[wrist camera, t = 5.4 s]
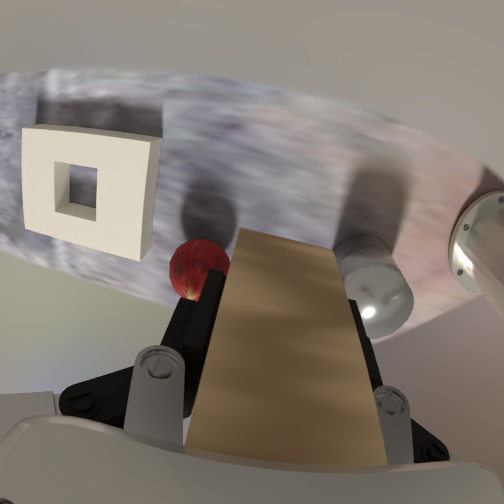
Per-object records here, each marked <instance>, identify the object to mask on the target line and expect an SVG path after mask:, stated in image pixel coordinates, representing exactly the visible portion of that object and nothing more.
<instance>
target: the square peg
mask: <svg viewBox="0 0 504 504" xmlns="http://www.w3.org/2000/svg"><path fill="white" fill-rule="evenodd" d="M185 446H187V447H191V448H196V449H200V450H205V451H210V452H215V453H220V454H226V455H232V456H238V457H244V458H251V459H258V460H266V461H274V462H284V463H295V464H308V465H328V466H382V465H388V463H387V457H386V452H385V447H384V441H383V436H382V432H381V427H380V422H379V417H378V413H377V408H376V404H375V399H374V395H373V391H372V387H371V382H370V378H369V374H368V370H367V366H366V362H365V358H364V355H363V351H362V347H361V343H360V340H359V336H358V332H357V329H356V325H355V322H354V318H353V315H352V311H351V308H350V304H349V301H348V297H347V294H346V291H345V288H344V284H343V281H342V278H341V275H340V271H339V268H338V265H337V262H336V259H335V256H334V253H333V250H331V249H327V248H323V247H319V246H315V245H311V244H307V243H303V242H299V241H295V240H290V239H286V238H282V237H278V236H274V235H270V234H265V233H261V232H257V231H253V230H248V229H244V228H240V230H239V234H238V237H237V241H236V245H235V249H234V252H233V256H232V260H231V264H230V267H229V271H228V275H227V279H226V282H225V286H224V290H223V294H222V298H221V302H220V305H219V309H218V313H217V317H216V321H215V325H214V329H213V332H212V336H211V340H210V344H209V348H208V352H207V356H206V360H205V364H204V368H203V372H202V376H201V380H200V384H199V388H198V392H197V396H196V400H195V404H194V408H193V413H192V417H191V421H190V425H189V429H188V434H187V438H186V442H185Z"/></svg>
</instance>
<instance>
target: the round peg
mask: <svg viewBox="0 0 504 504" xmlns="http://www.w3.org/2000/svg"><path fill="white" fill-rule="evenodd" d="M333 253H334V256H335V259H336V262H337V265H338V268H339V271H340V275H341V278H342V281H343V284H344V288H345V291H346V294H347V297H348V299H352V300H356V302H357V306H358V309H359V312H360V315H361V318H362V321H363V325H364V328H365V331H366V334H367V336H368V337H369V339H376V338H381V337H384V336H387V335H389V334H391V333H393V332H394V331H396V330H397V329H399V328H400V327H401V326H402V325H403V324H404V323H405V322H406V321H407V319H408V318H409V316H410V314H411V312H412V309H413V305H414V297H413V293H412V291H411V289H410V287H409V285H408V283H407V282H406V280H405V278H404V276H403V275H402V273H401V271H400V269H399V268H398V266H397V264H396V263H395V261H394V259H393V258H392V256H391V254H390V252H389V251H388V249H387V248H386V246H385V245H384V243H383V242H382V241H381V240H379V239H378V238H376V237H374V236H371V235H355V236H352V237H349V238H347V239H345V240H344V241H342V242H341V243H340V244H339V245H338V246H337V247H336V248H335V249H334V251H333Z"/></svg>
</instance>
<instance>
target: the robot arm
mask: <svg viewBox="0 0 504 504" xmlns="http://www.w3.org/2000/svg"><path fill="white" fill-rule="evenodd" d="M449 264H450V269H451V271H452V274H453V276H454V277H455V279H456V280H457V281H458V283H459V284H460V285H461V286H462V287H464V288H465V289H466V290H469V291H472V292H483V293H484V295H485V296H486V297H487V299H488V300H489V301H490V302H491V304H492V305H493V306H494V308H495V309H496V310H497V312H498V313H499V314H500V316H501V317H502V318H503V320H504V191H492V192H488V193H486V194H484V195H482V196H480V197H479V198H477V199H476V200H475V201H473V202H472V203H471V204H470V205H469V206H468V208H467V209H466V210H465V211H464V213H463V214H462V215H461V217H460V218H459V220H458V222H457V224H456V226H455V228H454V231H453V234H452V237H451V240H450V246H449ZM226 279H227V276H226V275H224V271H222V270H218V269H214V268H210V269H209V271H208V274H207V277H206V280H205V282H204V285H203V288H202V291H201V293H200V296H199V299H198V301H195V300H191V299H187V298H183V297H181V298H180V300H179V302H178V304H177V306H176V309H175V311H174V313H173V316H172V318H171V321H170V322H169V325H168V327H167V330H166V332H165V334H164V337H163V339H162V341H161V344H160V345H154V346H150V347H147V348H145V349H143V350H141V352H139V353H138V355H137V357H136V359H135V364H134V366H131V367H128V368H125V369H122V370H119V371H116V372H113V373H110V374H106V375H103V376H100V377H97V378H94V379H90V380H87V381H84V382H80V383H77V384H74V385H72V386H69V387H67V388H66V389H65V390H64V391H63V392H62V394H53V392H52V391H47V392H35V393H17V394H0V504H504V490H503V487H502V485H501V483H500V481H499V478H498V477H497V475H496V474H495V473H494V472H493V471H492V470H491V469H489V468H487V467H485V466H483V465H479V464H475V463H473V462H470V461H468V460H466V459H464V458H462V457H460V456H458V455H456V454H454V453H451V454H449V452H448V450H447V448H446V446H445V445H444V444H443V443H442V442H441V441H440V440H439V439H437V438H436V437H435V436H433V435H432V434H431V433H429V432H428V431H427V430H425V429H424V428H423V427H422V426H420V425H419V424H418V423H416V422H415V421H414V420H413V419H411V418H410V408H409V403H408V400H407V398H406V397H405V395H404V394H403V393H402V392H401V391H399V390H398V389H396V388H394V387H391V386H383V383H382V379H381V376H380V372H379V369H378V365H377V362H376V359H375V355H374V351H373V348H372V345H371V341H370V339H369V337H368V336H367V334H366V331H365V328H364V325H363V321H362V318H361V315H360V312H359V309H358V306H357V302H356V300H352V299H348V301H349V304H350V308H351V311H352V315H353V318H354V322H355V325H356V329H357V332H358V336H359V340H360V343H361V347H362V351H363V355H364V358H365V362H366V366H367V370H368V374H369V378H370V382H371V387H372V391H373V395H374V399H375V404H376V408H377V413H378V417H379V422H380V427H381V432H382V436H383V441H384V447H385V452H386V457H387V463H388V465H382V466H328V465H308V464H295V463H284V462H274V461H266V460H258V459H251V458H244V457H238V456H232V455H226V454H220V453H215V452H210V451H205V450H200V449H196V448H191V447H187V446H183V419H185V418H187V417H189V416H190V415H191V414H192V410H193V407H194V404H195V400H196V396H197V392H198V388H199V384H200V380H201V376H202V372H203V368H204V364H205V360H206V356H207V352H208V348H209V344H210V340H211V336H212V332H213V329H214V325H215V321H216V317H217V313H218V309H219V305H220V302H221V298H222V294H223V290H224V286H225V282H226Z"/></svg>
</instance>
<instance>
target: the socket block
mask: <svg viewBox="0 0 504 504" xmlns="http://www.w3.org/2000/svg"><path fill="white" fill-rule="evenodd" d="M162 139H163V138H160V137H154V136H147V135H141V134H134V133H127V132H119V131H111V130H103V129H94V128H84V127H74V126H63V125H50V124H36V125H32V126H28V127H24V128H22V192H23V208H24V220H25V229H28V230H32V231H35V232H38V233H41V234H45V235H48V236H51V237H55V238H58V239H62V240H65V241H68V242H72V243H75V244H79V245H82V246H86V247H89V248H93V249H96V250H100V251H103V252H107V253H111V254H114V255H118V256H122V257H125V258H129V259H133V260H136V261H141V259H142V258H143V257H144V256H145V254H146V253H147V252H148V251H149V249H150V246H151V233H152V221H153V211H154V201H155V192H156V183H157V175H158V167H159V159H160V152H161V145H162ZM70 164H75V165H81V166H87V167H93V168H98V174H97V197H96V208H92V207H88V206H84V205H79V204H75V203H71V202H70Z"/></svg>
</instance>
